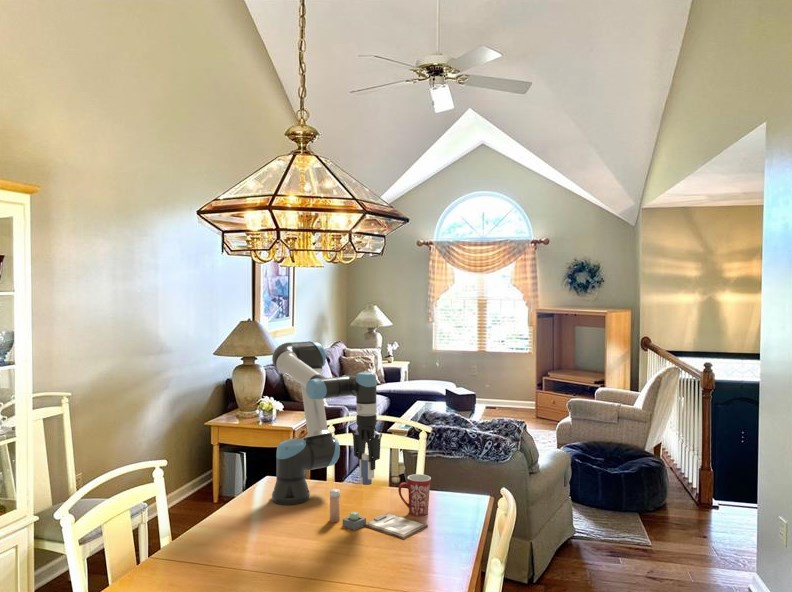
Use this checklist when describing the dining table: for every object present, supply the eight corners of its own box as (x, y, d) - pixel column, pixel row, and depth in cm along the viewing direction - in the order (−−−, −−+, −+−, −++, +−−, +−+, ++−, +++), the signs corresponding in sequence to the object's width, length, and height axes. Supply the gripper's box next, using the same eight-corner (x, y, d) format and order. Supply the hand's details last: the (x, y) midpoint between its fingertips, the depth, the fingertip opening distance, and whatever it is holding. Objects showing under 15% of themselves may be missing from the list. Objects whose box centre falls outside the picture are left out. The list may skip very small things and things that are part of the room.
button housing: (342, 526, 212) (342, 519, 212) (353, 521, 217) (354, 514, 217) (354, 530, 208) (354, 523, 208) (366, 525, 213) (366, 518, 213)
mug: (426, 507, 231) (427, 473, 231) (433, 515, 223) (433, 480, 223) (395, 509, 229) (395, 475, 229) (401, 518, 220) (401, 482, 220)
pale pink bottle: (327, 520, 217) (327, 490, 217) (334, 517, 220) (334, 488, 220) (334, 523, 215) (334, 492, 215) (341, 520, 218) (341, 490, 218)
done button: (348, 520, 212) (348, 513, 212) (354, 517, 215) (354, 511, 215) (354, 522, 210) (354, 515, 210) (360, 519, 213) (360, 513, 213)
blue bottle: (359, 483, 219) (359, 454, 219) (366, 481, 222) (366, 452, 222) (367, 485, 217) (367, 455, 217) (373, 483, 219) (373, 453, 220)
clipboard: (364, 526, 212) (364, 521, 212) (388, 515, 223) (389, 511, 223) (403, 539, 201) (403, 534, 201) (427, 526, 212) (427, 522, 212)
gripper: (343, 413, 222) (343, 475, 221) (376, 418, 212) (376, 483, 211) (357, 410, 228) (357, 471, 227) (389, 415, 217) (390, 479, 217)
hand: (366, 477), depth 219 cm, fingers closed on blue bottle, 3 cm apart
